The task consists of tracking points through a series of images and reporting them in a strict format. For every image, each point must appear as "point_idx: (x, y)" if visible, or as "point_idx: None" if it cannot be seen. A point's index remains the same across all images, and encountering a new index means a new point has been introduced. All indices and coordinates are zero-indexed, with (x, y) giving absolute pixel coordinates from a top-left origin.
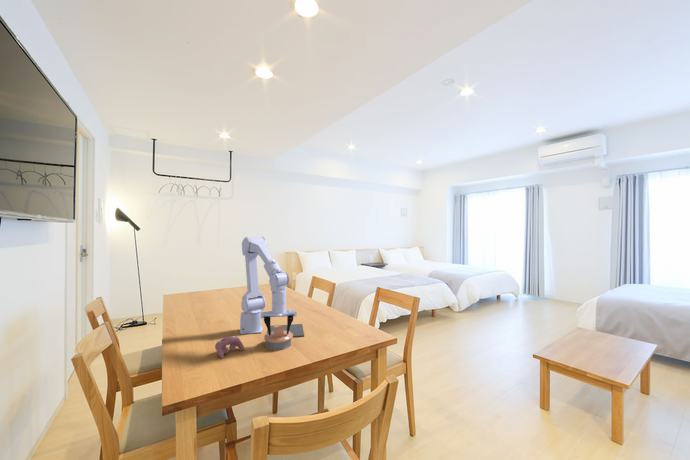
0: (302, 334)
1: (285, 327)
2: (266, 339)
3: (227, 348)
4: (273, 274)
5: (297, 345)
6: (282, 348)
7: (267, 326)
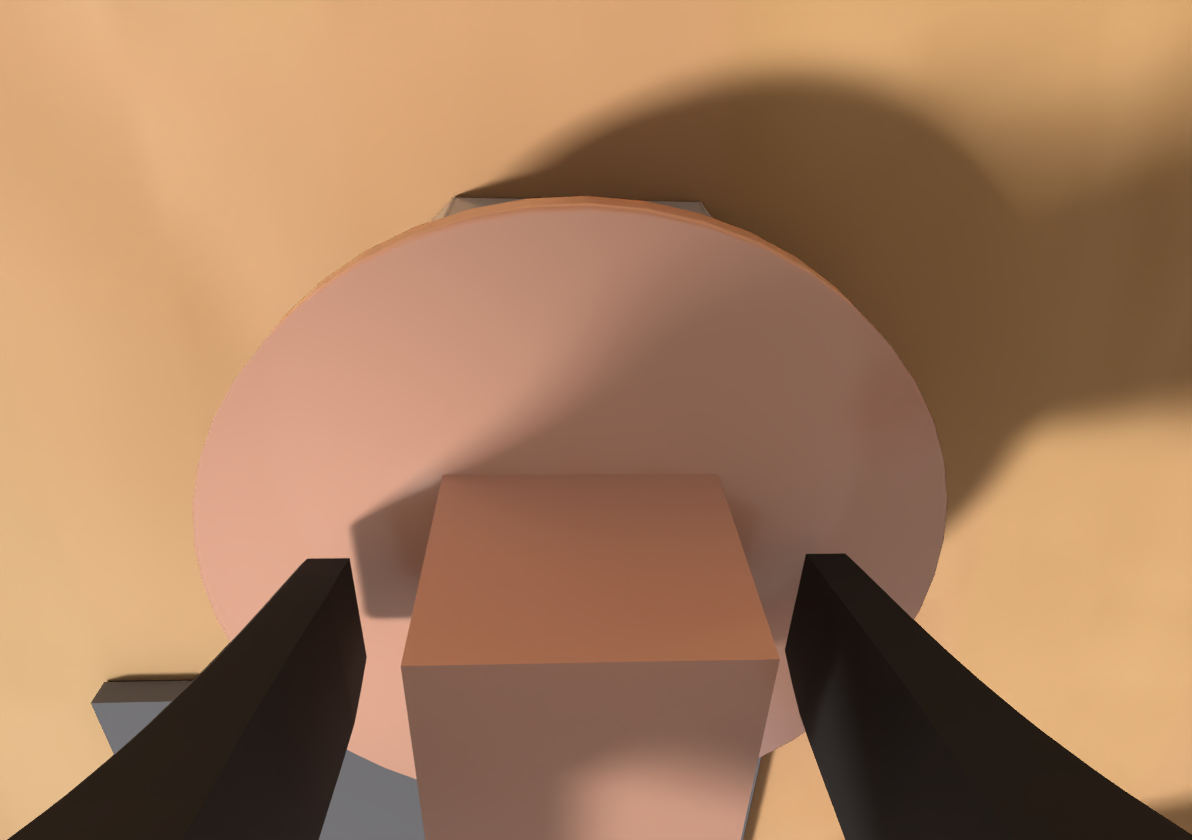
0: (134, 731)
1: None
2: (918, 395)
3: None
4: None
5: (150, 338)
6: (480, 204)
7: (1059, 761)
